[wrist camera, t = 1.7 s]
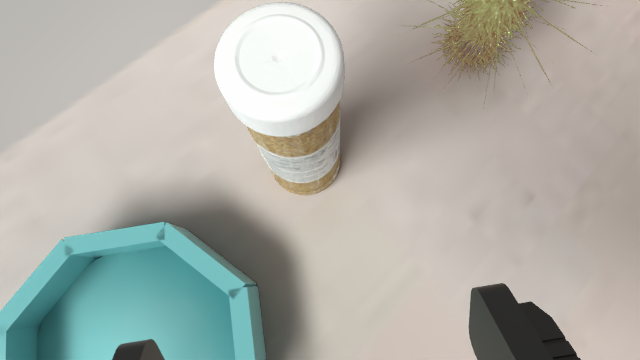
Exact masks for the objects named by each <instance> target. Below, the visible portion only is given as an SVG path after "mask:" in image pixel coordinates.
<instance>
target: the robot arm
mask: <svg viewBox="0 0 640 360" xmlns="http://www.w3.org/2000/svg"><path fill="white" fill-rule="evenodd" d="M469 335H470V340H471V344H472V347H473V350H474V353H475V355H476V357H477V359H478V360H581V359H580V358H578V357H577V354H576V352H575V351H574V349H573V348H572V346H571V345H570V343H569V342H568V341H566V339H565V336H564V335H563V333H562V332H561V330H560V329H559V327H558V326H557V325H556V323H555V322H554V320H553V319H552V317H550V316H549V315H548V314H547V313H545V312H544V311H543V310H541V309H540V308H539V307H538V306H536V305H535V304H534V303H532V302H526V303H520V304H518V302H517V301H516V299H515V298H514V296H513V294H512V293H511V291H510V290H509V288H508V287H507V286H506V285H505V284H503V283H500V284H494V285H488V286H482V287H476V288H472V291H471V301H470V317H469ZM112 360H165V359H164V357H163V355H162V353H161V351H160V349H159V347H158V346H157V344H156V342H155V341H154V340H153V339H148V340H142V341H136V342H129V343H123V344H120V345H119V346H118V347H117V349H116V351H115V353H114V356H113V358H112Z"/></svg>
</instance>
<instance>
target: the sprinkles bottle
mask: <svg viewBox="0 0 640 360" xmlns="http://www.w3.org/2000/svg"><path fill="white" fill-rule="evenodd" d="M214 69H215V77H216V80H217V83H218V86H219V89H220V91H221V93H222V94H223V96H224V98H225V100H226V102H227V103H228V105H229V107H230V108H231V110H232V111H233V113H234V114H235V115H236V117H237V118H238V119H239V120H240V121H241V122H242V123H244V124H245V125H246V126H247V128H248V130H249V131H250V133H251V135H252V137H253V139H254V141H255V142H256V145H257V147H258V150H259V151H260V153H261V155H262V156H263V158H264V159H265V161H266V163H267V164H268V166H269V167H270V169H271V171H272V173H273V175H274V177H275V179H276V180H277V182H278V183H279V184H280V185H281V186H282V187H284V188H285V189H286V190H288V191H289V192H292V193H296V194H299V195H310V194H315V193H318V192H320V191H322V190H324V189H325V188H327V187H328V186H329V185H330V184H331V183H332V182H333V181H334V179H335V178H336V176H337V174H338V170H339V168H340V154H339V151H340V116H341V109H340V103H339V100H340V98H341V95H342V92H343V87H344V55H343V49H342V44H341V42H340V39H339V37H338V35H337V33H336V31H335V30H334V28H333V27H332V26H331V24H330V23H329V22H328V21H327V20H326V19H325V18H324V17H322V16H321V15H320V14H319V13H317V12H315V11H314V10H312V9H310V8H308V7H305V6H302V5H299V4H294V3H287V2H277V3H268V4H264V5H260V6H257V7H255V8H253V9H250V10H248V11H247V12H245V13H243V14H242V15H240V16H239V17H238V18H237V19H235V20H234V21H233V22H232V23H231V24H230V25H229V27H228V28H227V29H226V31H225V32H224V33H223V35H222V37H221V39H220V41H219V43H218V46H217V49H216V53H215V61H214Z"/></svg>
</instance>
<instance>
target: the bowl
mask: <svg viewBox="0 0 640 360" xmlns="http://www.w3.org/2000/svg"><path fill="white" fill-rule="evenodd" d="M255 285H256V283H255V282H254V281H252V280H251V279H250V278H249V277H247V276H246V275H245V274H243V273H242V272H241V271H240V270H238V269H237V268H236V267H234V266H233V265H232V264H231V263H229V262H228V261H227V260H225V259H224V258H223V257H222V256H220V255H219V254H218V253H217V252H215V251H214V250H213V249H211V248H210V247H209V246H208V245H206V244H205V243H204V242H202V241H201V240H200V239H199V238H197V237H196V236H195V235H193V234H192V233H191V232H190V231H188V230H187V229H184V228H181V227H179V226H176V225H173V224H170V223H166V222H159V223H153V224H147V225H141V226H134V227H128V228H122V229H116V230H109V231H103V232H97V233H91V234H84V235H78V236H72V237H66V238H65V240H62V239H61V240H60V242H59V243H58V244H57V245H56V246H55V248H54V249H53V250H52V251H51V252H50V253H49V255H48V256H47V257H46V258H45V259H44V261H43V262H42V263H41V264H40V265H39V266H38V268H37V269H36V270H35V271H34V272H33V273H32V275H31V276H30V277H29V278H28V279H27V281H26V282H25V283H24V284H23V285H22V286H21V288H20V289H19V290H18V291H17V292H16V294H15V295H14V296H13V297H12V298H11V299H10V301H9V302H8V303H7V304H6V305H5V306H4V308H3V309H2V310H1V311H0V360H112V358H113V356H114V353H115V351H116V349H117V347H118V346H119V345H120V344H123V343H129V342H136V341H142V340H148V339H153V340H154V341H155V342H156V344H157V346H158V347H159V349H160V351H161V353H162V355H163V357H164V359H165V360H266V352H265V343H264V335H263V326H262V317H261V309H260V300H259V292H258V286H255ZM254 286H255V287H254Z"/></svg>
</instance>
